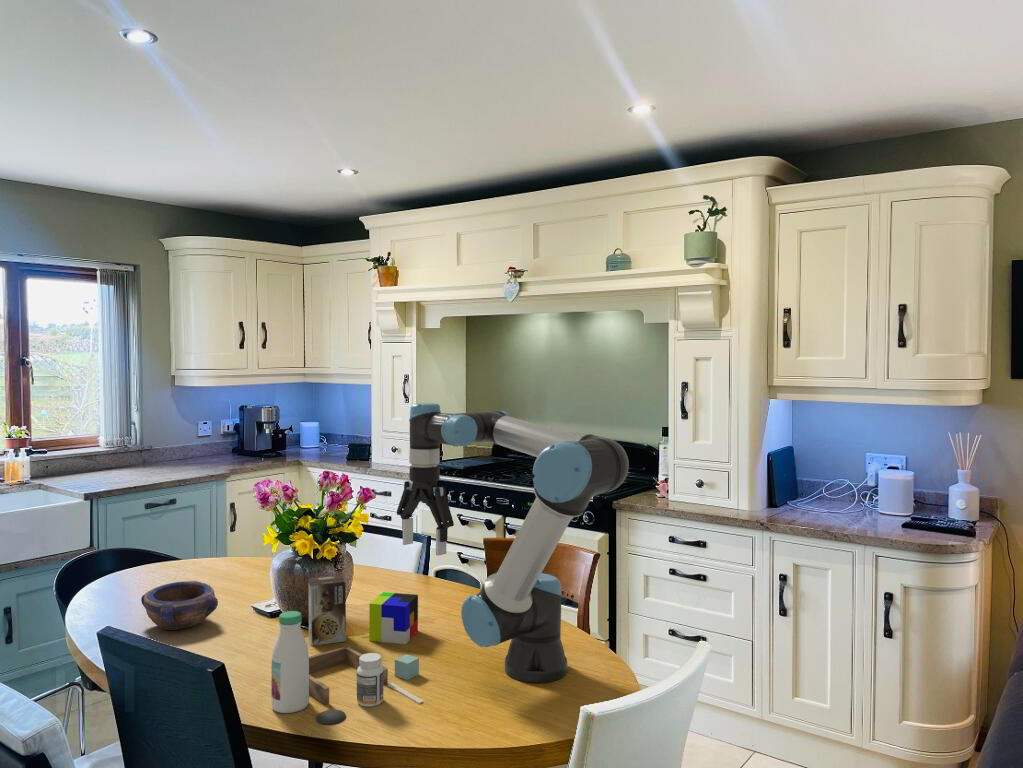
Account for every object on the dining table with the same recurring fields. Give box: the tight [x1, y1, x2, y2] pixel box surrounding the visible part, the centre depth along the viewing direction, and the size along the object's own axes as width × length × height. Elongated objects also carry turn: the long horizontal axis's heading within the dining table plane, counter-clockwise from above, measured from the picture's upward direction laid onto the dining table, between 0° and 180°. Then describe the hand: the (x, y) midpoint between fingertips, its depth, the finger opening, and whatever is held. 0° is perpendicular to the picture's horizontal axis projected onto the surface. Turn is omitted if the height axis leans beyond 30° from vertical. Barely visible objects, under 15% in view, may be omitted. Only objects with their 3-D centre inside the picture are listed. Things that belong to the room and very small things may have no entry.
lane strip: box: [387, 682, 424, 705], centre depth 171 cm, size 12×1×1 cm, turn 43°
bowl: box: [140, 580, 219, 631], centre depth 211 cm, size 18×18×10 cm
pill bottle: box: [356, 652, 384, 708], centre depth 166 cm, size 6×6×10 cm
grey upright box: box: [307, 574, 347, 647], centre depth 202 cm, size 9×6×16 cm
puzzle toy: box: [368, 591, 419, 645], centre depth 205 cm, size 10×10×10 cm
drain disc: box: [315, 709, 347, 725], centre depth 159 cm, size 6×6×1 cm
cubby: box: [309, 645, 389, 706], centre depth 177 cm, size 18×16×4 cm
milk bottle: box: [270, 610, 310, 714], centre depth 164 cm, size 8×8×20 cm
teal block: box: [394, 653, 420, 681], centre depth 181 cm, size 4×4×4 cm
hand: (424, 549), depth 192 cm, fingers open, 13 cm apart
